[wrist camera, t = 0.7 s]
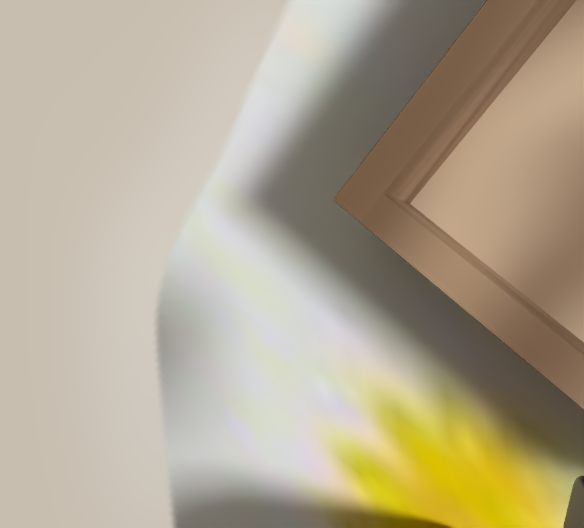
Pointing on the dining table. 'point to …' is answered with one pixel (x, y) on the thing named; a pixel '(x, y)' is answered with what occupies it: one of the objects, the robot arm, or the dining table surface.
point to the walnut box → (495, 181)
